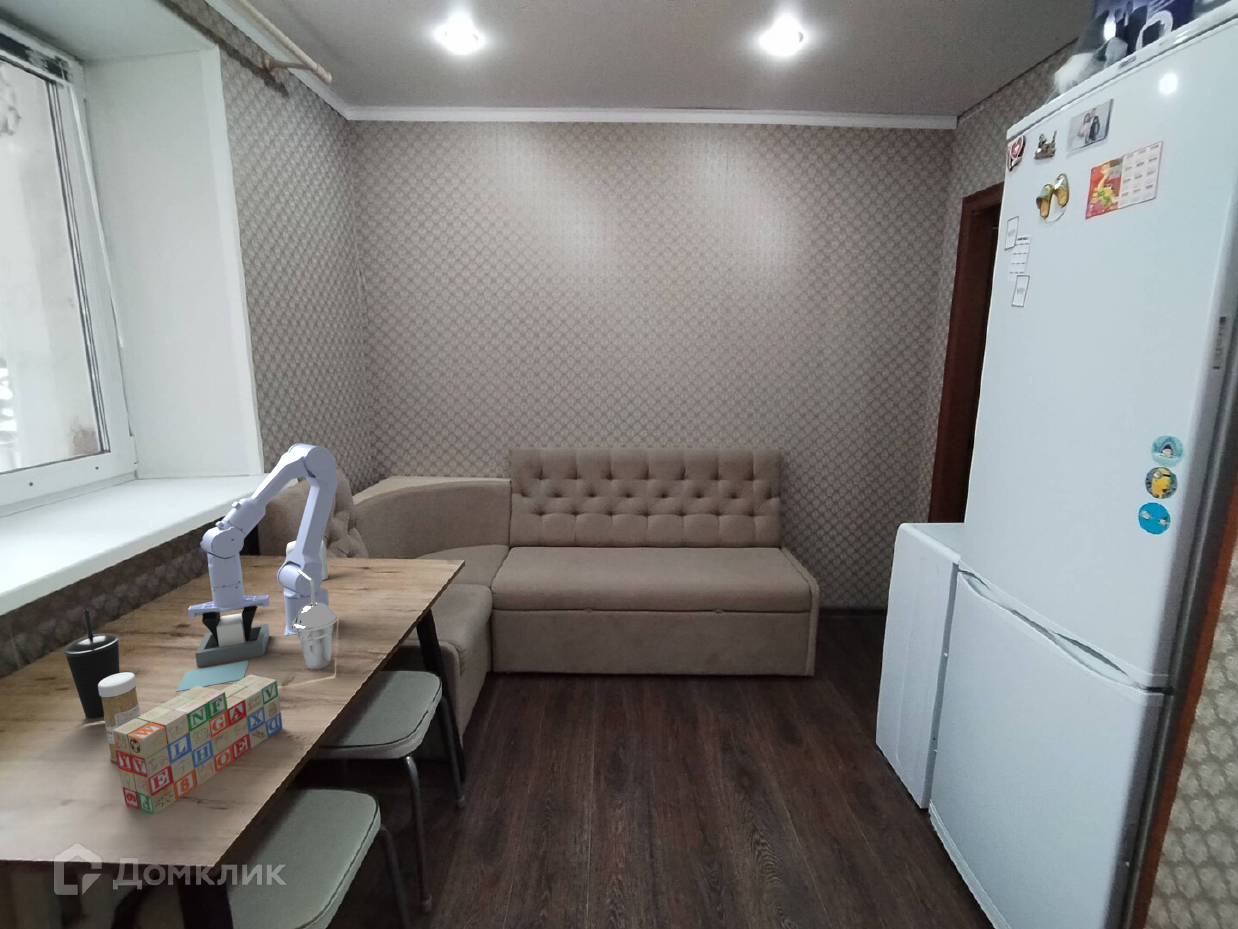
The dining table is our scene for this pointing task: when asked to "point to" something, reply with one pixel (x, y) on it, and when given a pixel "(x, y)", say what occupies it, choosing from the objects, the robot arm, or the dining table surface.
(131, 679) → the sprinkles bottle
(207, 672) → the mat
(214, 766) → the stack of blocks
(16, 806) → the dining table surface
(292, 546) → the photo printer
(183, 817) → the dining table surface
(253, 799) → the dining table surface
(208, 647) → the case
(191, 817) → the dining table surface
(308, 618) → the cup with straw
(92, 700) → the drinking cup
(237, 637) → the block
